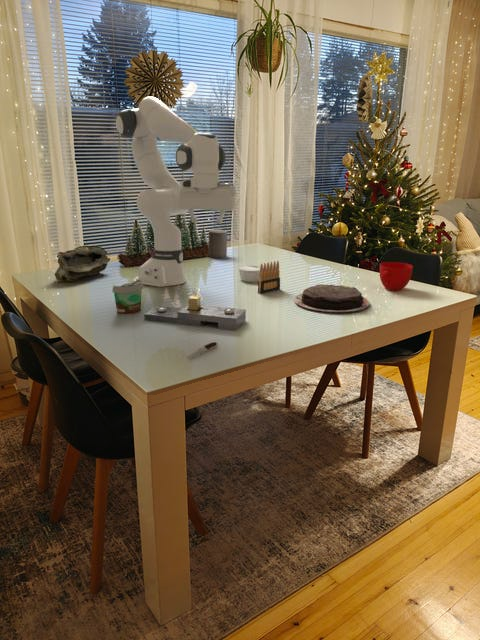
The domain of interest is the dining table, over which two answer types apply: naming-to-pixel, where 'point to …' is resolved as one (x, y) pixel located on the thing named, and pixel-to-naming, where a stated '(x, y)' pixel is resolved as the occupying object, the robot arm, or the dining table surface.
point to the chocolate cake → (332, 299)
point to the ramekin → (249, 273)
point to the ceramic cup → (395, 275)
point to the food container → (128, 297)
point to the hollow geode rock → (81, 263)
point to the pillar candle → (217, 244)
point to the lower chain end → (169, 316)
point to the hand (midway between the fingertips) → (206, 222)
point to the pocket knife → (203, 349)
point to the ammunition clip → (269, 278)
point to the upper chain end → (216, 316)
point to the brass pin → (194, 303)
